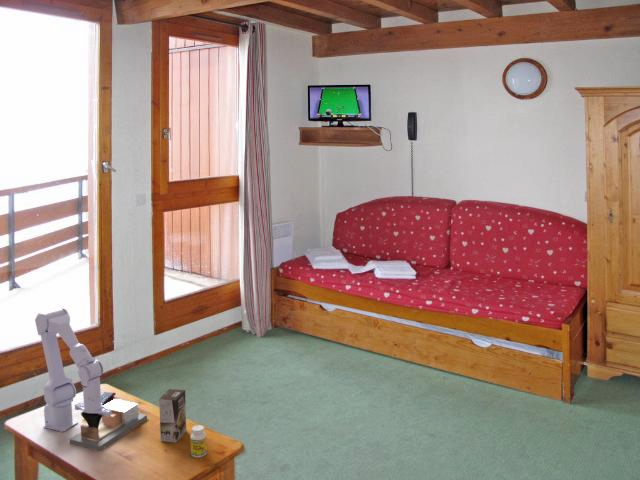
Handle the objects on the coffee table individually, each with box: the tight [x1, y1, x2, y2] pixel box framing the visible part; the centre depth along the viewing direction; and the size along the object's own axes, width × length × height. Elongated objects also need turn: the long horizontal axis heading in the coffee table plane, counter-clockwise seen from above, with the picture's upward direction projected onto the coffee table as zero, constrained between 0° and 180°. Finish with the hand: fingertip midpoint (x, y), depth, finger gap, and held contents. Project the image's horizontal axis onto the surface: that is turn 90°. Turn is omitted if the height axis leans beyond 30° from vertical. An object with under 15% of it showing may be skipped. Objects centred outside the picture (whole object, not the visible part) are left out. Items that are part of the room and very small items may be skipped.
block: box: [103, 411, 122, 427], centre depth 238 cm, size 4×5×4 cm
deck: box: [69, 412, 148, 452], centre depth 237 cm, size 13×26×2 cm, turn 158°
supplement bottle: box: [189, 424, 208, 458], centre depth 221 cm, size 5×5×10 cm
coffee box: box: [158, 388, 187, 443], centre depth 233 cm, size 9×6×16 cm
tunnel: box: [101, 398, 139, 427], centre depth 242 cm, size 10×8×6 cm
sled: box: [80, 422, 122, 442], centre depth 234 cm, size 7×16×4 cm, turn 158°
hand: (94, 431), depth 230 cm, fingers closed, pressing on sled
